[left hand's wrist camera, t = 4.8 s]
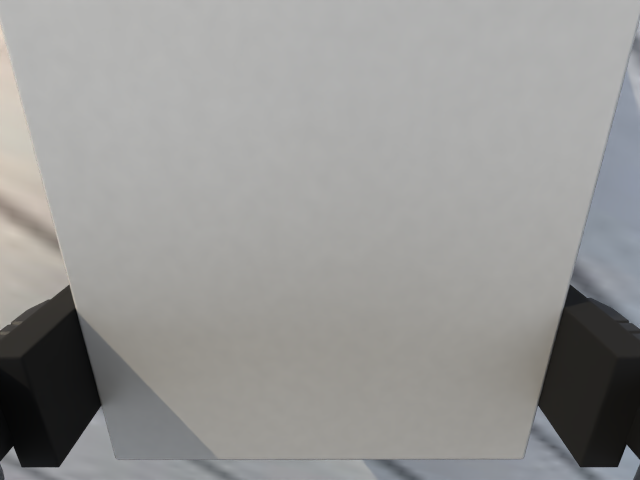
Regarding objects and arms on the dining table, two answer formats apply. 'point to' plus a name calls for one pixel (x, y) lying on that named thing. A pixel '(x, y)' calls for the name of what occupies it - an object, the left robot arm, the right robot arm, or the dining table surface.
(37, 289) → the dining table surface
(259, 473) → the dining table surface
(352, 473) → the dining table surface
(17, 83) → the grey rectangular block
